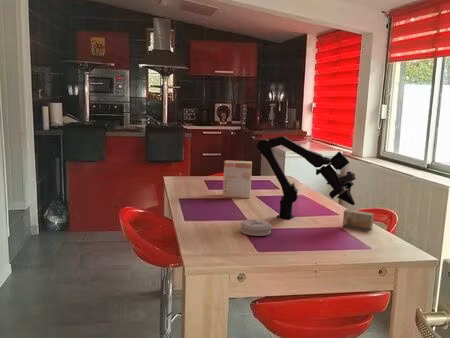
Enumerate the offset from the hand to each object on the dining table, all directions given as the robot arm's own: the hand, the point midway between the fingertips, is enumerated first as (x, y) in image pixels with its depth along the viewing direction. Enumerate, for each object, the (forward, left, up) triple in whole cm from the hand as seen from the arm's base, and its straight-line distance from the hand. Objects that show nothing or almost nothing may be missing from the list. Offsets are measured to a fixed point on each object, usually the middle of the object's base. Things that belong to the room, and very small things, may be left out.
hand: (354, 204), depth 199 cm
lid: (-36, +30, -10) cm, 48 cm away
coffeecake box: (+16, +69, -10) cm, 71 cm away
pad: (0, -2, -10) cm, 10 cm away
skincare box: (0, +4, -6) cm, 7 cm away
